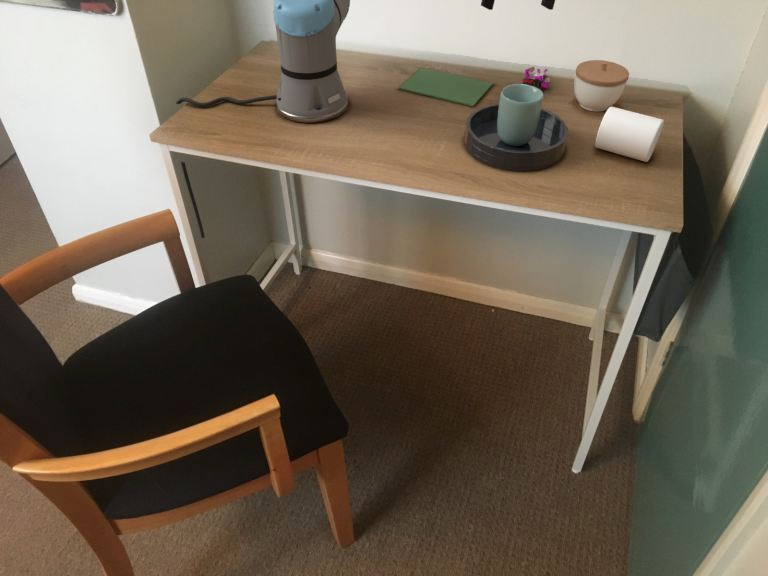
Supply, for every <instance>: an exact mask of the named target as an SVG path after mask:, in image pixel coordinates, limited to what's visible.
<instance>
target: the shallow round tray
mask: <svg viewBox="0 0 768 576" xmlns="http://www.w3.org/2000/svg"><path fill="white" fill-rule="evenodd" d="M498 108H499V102H497V103H493V104H492V103H491V104H489V105H488V104H487V105H485V106H481V107H479V108H478V109H476V110H473V112H471V113H470V114H469V116H468V117H467V119H466V123H465V131H464V146H465V149H466V150H467V153H469V154H470V156H471V157H472V158H474V159H475V160H477V161H478V162H480V163H482V164H484V165H487V166H489V167H492V168H495V169H499V170H502V171H509V172H533V171H539V170H543V169H546V168H549V167H552V166H553V165H555V164H556V163H558V162H559V161H560V160H561V159H562V158H563V155H564V152H565V149H566V147H567V141H568V138H569V128H568V125H567V124H566V122H565V121H564V120H563V119H562V117H560V116H559V115H557V114H556V113H554V112H552V111H550V110H548V109H545V108H541V113H540V118H539V122H538V126H537V129H536V132H535V134H534V136H533V138H532V139H531V140H530V141H529V142H528V143H527V144H525V145H522V146H511V145H508V144H506V143H504V142H503V141H501V139H500V138H499V136H498V132H497V116H498Z"/></svg>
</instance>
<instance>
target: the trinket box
mask: <svg viewBox="0 0 768 576" xmlns="http://www.w3.org/2000/svg"><path fill="white" fill-rule="evenodd" d="M629 77H630V72H629V70H628V69H627V68H626V67H625V66H623V65H621V64H619V63H616V62H614V61H609V60H604V59H603V60H601V59H592V60H590V59H589V60H586V61H582V62H580V63H579V64H578V65H577V66H576V67H575V75H574V81H573V93H574V96H575V99H576V100H577V102H578V103H579V106H580V107H581V108H582V109H584V110H586V111H590V112H598V113H599V112H604V111H607V110H608V109H609V107H613V105H615V104H616V103H617V102H618V101H619V99H620V98H621V97H622V94H623V93H624V91H625V89H626V86H627V82H628V80H629Z"/></svg>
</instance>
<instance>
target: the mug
mask: <svg viewBox="0 0 768 576" xmlns="http://www.w3.org/2000/svg"><path fill="white" fill-rule="evenodd" d="M664 124H665V121H664V119H661V118H658V117H654V116H650V115H646V114H642V113H640V112H639V113H638V112H635V111H631V110H627V109H623V108H619V107H615V106H610V107H608V109H607V110H605V113H604V115H603V117H602V120H601V122H600V124H599V128H598V129H597V130H598V131H597V134H596V137H595V142H594V145H595V148H596V149H600V150H601V151H602V150H603V151H607V152H610V153H614V154H615V155H616V154H617V155H621V156H623V157H627V158H631V159H634V160H638V161H642V162H645V163H647V162H649V160H650V159H651V157H652V155H653V153H654V151H655V149H656V146H657V144H658V141H659V138H660V136H661V133H662V130H663V128H664Z"/></svg>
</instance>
